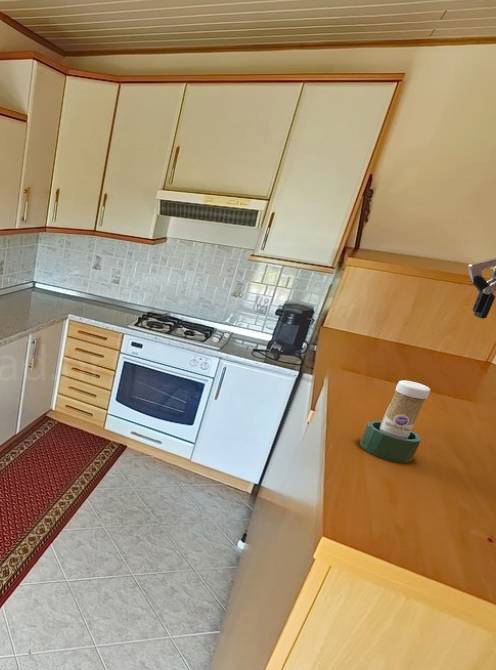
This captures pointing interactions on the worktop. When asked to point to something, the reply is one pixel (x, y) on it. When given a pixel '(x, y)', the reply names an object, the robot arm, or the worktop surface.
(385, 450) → the holder
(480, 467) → the worktop surface
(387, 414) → the sprinkles bottle
